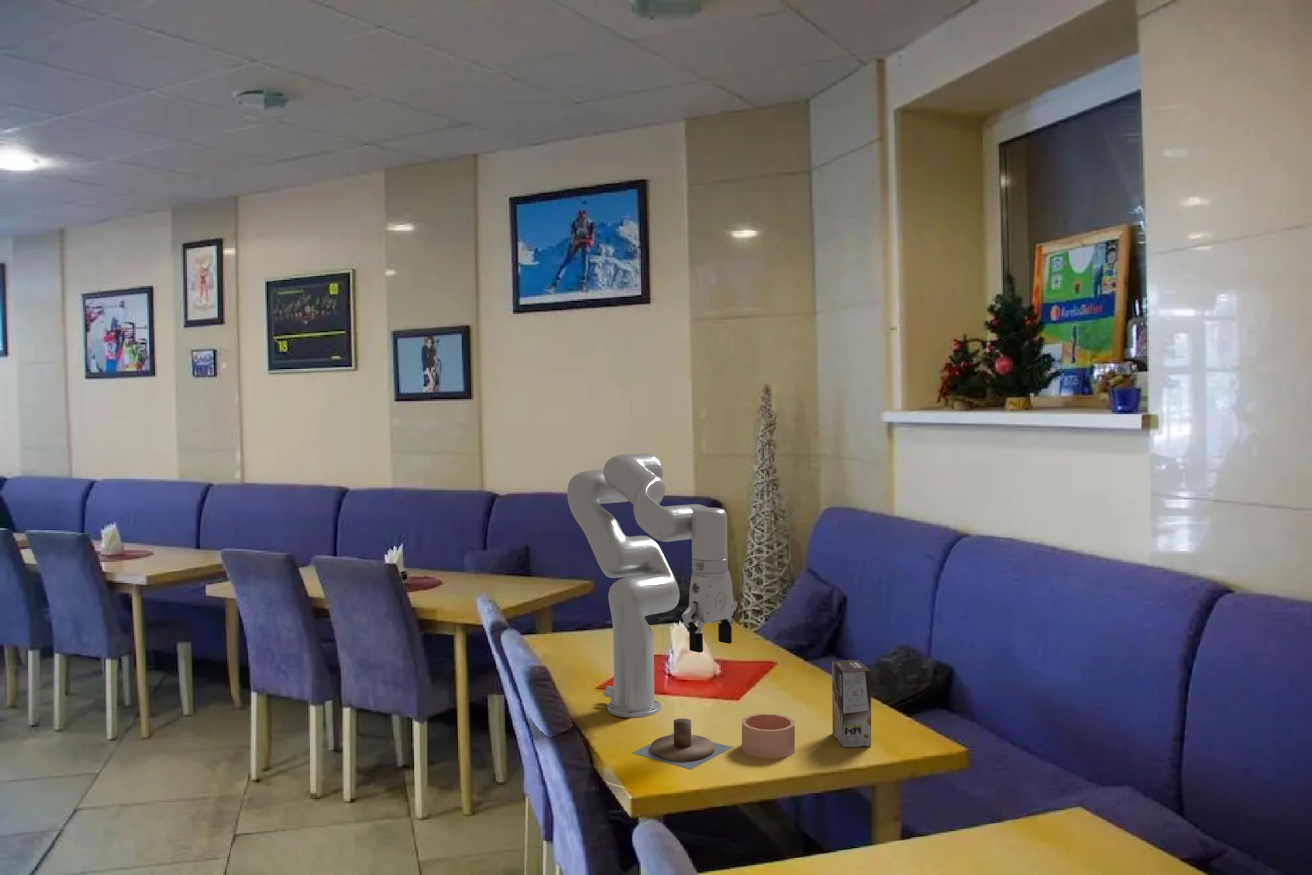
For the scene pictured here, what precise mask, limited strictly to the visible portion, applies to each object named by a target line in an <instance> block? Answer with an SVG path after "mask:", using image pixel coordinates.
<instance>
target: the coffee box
mask: <svg viewBox="0 0 1312 875" xmlns="http://www.w3.org/2000/svg"><path fill="white" fill-rule="evenodd" d="M831 687H832V688H831V691H832V693H831V694H832V700H831V702H832V734H833V736H834V737H835V739H836V738H837V739H836V740H837V742H839V744H840V745H841V746H842V747H843V748H858V747H859V748H861V746H867V747H871V746H872V671H871V670H870V668H868V667H867V666H866V665H865V664H864V663H863V662H862V661H861V660H859V659H848V660H847V659H846V660H832V661H831Z"/></svg>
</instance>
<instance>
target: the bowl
mask: <svg viewBox="0 0 1312 875" xmlns="http://www.w3.org/2000/svg"><path fill="white" fill-rule="evenodd" d="M795 727H796V726H795V719H793V718H790V717H789V716H787V715H784V714H783V715H781V714H778V713H764V712H762V713H757V714H755V713H754V714H749V715H747V716H745V717H743V718H742V719H741V751H742V752H743V753H744V754H745V755H746V756H747V755H748V756H750V757H753V758H757V759H762V760H763V759H767V760H768V759H769V760H777V759H783V758H788V757H790V756H791V755H793V754H795V752H796V749H795V748H796V747H795V746H796V744H795V742H796V741H795V740H796V739H795V737H796V735H795V734H796V732H795Z"/></svg>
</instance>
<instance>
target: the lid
mask: <svg viewBox="0 0 1312 875" xmlns="http://www.w3.org/2000/svg"><path fill="white" fill-rule="evenodd" d="M673 733H674V735H670V734H668V735H664V736H661V737H659V738H656V739H655V740H653V741H652V742H651V743H652V744H651V743H650V744H651V751H652V753H653V754H654V755H655V756H657V757H659V758H661V759H665V760H669V761H678V762H687V761H696V760H701V759H704V758H707V757H709V756H710V755H712V754H713V752H714V744H713V742H714V741H712V740H711V739H709V738H707V737H704V736H701V735H697V734H692V721H691V719H689V718H675V719H673Z"/></svg>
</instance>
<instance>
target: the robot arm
mask: <svg viewBox="0 0 1312 875" xmlns="http://www.w3.org/2000/svg"><path fill="white" fill-rule="evenodd" d="M663 475H664V469H663V466H662V464H661V461H660V460H659V459H658V458H657V457H656V456H655V455H653V454H651V453H632V454H631V453H628V454H626V453H625V454H619V455H617V454H616V455H615V456H612V457H611V458H609V459H608V460H607V461H606V462H605V464H604V466H603V469H592V470H591V469H590V470H586V471H585V470H584V471H581V472H578V473H576V474H575V475H573V476H572V477H571V478H570V480H569V482H568V486H567V490H566V491H567V494H566V495H567V496H566V497H567V503H568V507H569V509H570V511H571V515H572V516H573V517H574V519H575V521H576V522H577V524H578V525H579V527H580V529H582V531H583V533H584V534H585V536H586V538H587V541H588V543H589V545H590V549H591V550H592V552H593V555H594V556H595V560H596V562H597V563H598V566H599V567H600V570H601V571H602V573H603V574H604V575H605V576H606V577H608V578H611V579H618V578H619V579H618V580H616V581H615V582H613V584H612V585H611V586H610V587H609V591H608V604H609V609H610V614H611V621H612V636H613V637H612V642H613V686H611V685H606V687H605V689H604V690H603V692H602V695H603V696H604V697H607V698H610V702H609V703H608V704H607V712H608V713H609V714H611V715H613V716H615V717H619V718H628V719H632V718H644V717H650V716H654V715H655V714H658V713H659V712H660V711H661V709H662V704H661V702H659V701H658V700H657V699H655V645H654V644H655V643H654V642H655V640H654V639H655V638H654V633H653V632H654V631H653V630H652V628H651V626H650V624H649V623H648V621H647V620H646V616H650V615H656V614H661V613H667V612H669V611H672V610H674V609H675V608H676V607H677V605H678V604H679V600H680V588H679V585H678V583H677V580H676V577H675V575H674V574H673V571H672V569H671V567H670V565H669V563H668V561H667V559H666V557H665V554H664V553H663V550H662V548H661V547H660V545H659V544H658V542H656V540H657V541H660V542H664V543H665V542H666V543H668V542H675V541H676V542H677V541H684V540H685V541H686V540H687V541H688V540H691V571H692V572H691V577H690V582H689V583H690V584H689V596H688V598H689V599H688V600H689V601H688V607H687V608H686V610H684V611H683V613H682V614H681V618H682V621H683V624H684V625H683V626H684V627H685V628H686V631H687V632H688V633H689V635H688V636H689V637H688V638H689V639H688V640H689V643H688V644H689V651H690V652H695V653H699V654H700V653H703V652H704V635H703V633H704V632H703V633H701V632H702V630H703V628H704V626H705V624H708V625H709V624H713V623H718V622H719V623H718V629H717V630H718V631H717V632H718V635H717V636H718V642H719V643H724V644H728V645H729V644H732V641H733V640H732V638H733V637H732V635H733V634H732V632H733V630H732V626H733V624H734V618H735V616H736V613H737V612H736V610H737V607H738V601H736V600H735V599H734V592H733V583H732V577H731V573H730V570H729V569H728V568H729V566H728V563H729V562H728V556H729V555H728V514H727V512H726V510H725V509H723V508H719V507H708V506H705V505H702V504H699V503H698V504H697V503H693V504H681V505H680V504H678V505H670V506H669V505H668V506H662V505H660V504H661V502H662V500H663V498H664V496H665V493H666V486H665V483H664V481H663ZM627 502H630V503H631V504H632V505H633V506H632V509H633V515H634V518H635V521H636V523H637V525H638V526H639V527H640V528H641V529H642V530H643V532H646V533H647V534H648V535H649V536H647V535H636V536H635V535H634V536H627V535H626V534H625V533H624V532H623V530H622V528H621V526H620V523H619V522H618V520H617V519H616V518H615V517H614V515H613V514H612V513H610V512H609V510H607V509H605V508H604V507H603V506H601V505H602V504H604V505H605V504H614V503H615V504H618V503H627ZM654 539H655V540H654ZM696 623H697V625H696Z"/></svg>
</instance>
